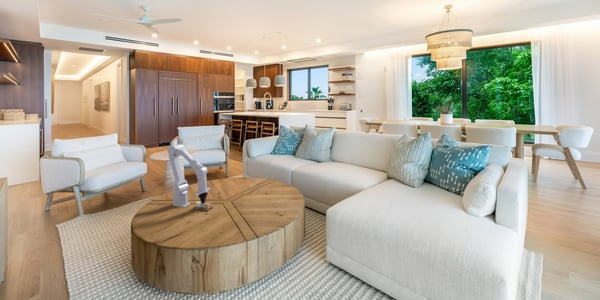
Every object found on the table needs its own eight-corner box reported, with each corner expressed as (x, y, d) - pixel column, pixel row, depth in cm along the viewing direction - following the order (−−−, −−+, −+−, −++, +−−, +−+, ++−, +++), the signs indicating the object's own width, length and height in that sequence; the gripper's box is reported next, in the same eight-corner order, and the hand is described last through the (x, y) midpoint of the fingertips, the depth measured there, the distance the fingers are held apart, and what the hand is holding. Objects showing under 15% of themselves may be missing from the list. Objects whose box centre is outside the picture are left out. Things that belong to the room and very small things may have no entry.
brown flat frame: (193, 209, 206) (193, 207, 206) (199, 205, 212) (199, 204, 212) (207, 211, 202) (207, 209, 202) (213, 207, 209) (213, 206, 208)
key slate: (200, 207, 206) (200, 203, 206) (202, 206, 209) (202, 202, 208) (203, 207, 205) (203, 203, 205) (206, 206, 208) (206, 202, 207)
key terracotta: (204, 208, 205) (204, 204, 204) (207, 206, 208) (207, 202, 207) (208, 208, 204) (208, 204, 204) (210, 207, 207) (210, 203, 206)
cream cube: (195, 206, 207) (195, 202, 207) (198, 205, 210) (198, 201, 209) (199, 207, 206) (199, 203, 206) (201, 205, 209) (201, 201, 208)
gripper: (200, 188, 196) (201, 207, 198) (213, 182, 210) (214, 200, 212) (191, 186, 198) (192, 206, 201) (204, 181, 212) (205, 199, 214)
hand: (203, 203), depth 206 cm, fingers closed, pressing on key slate
